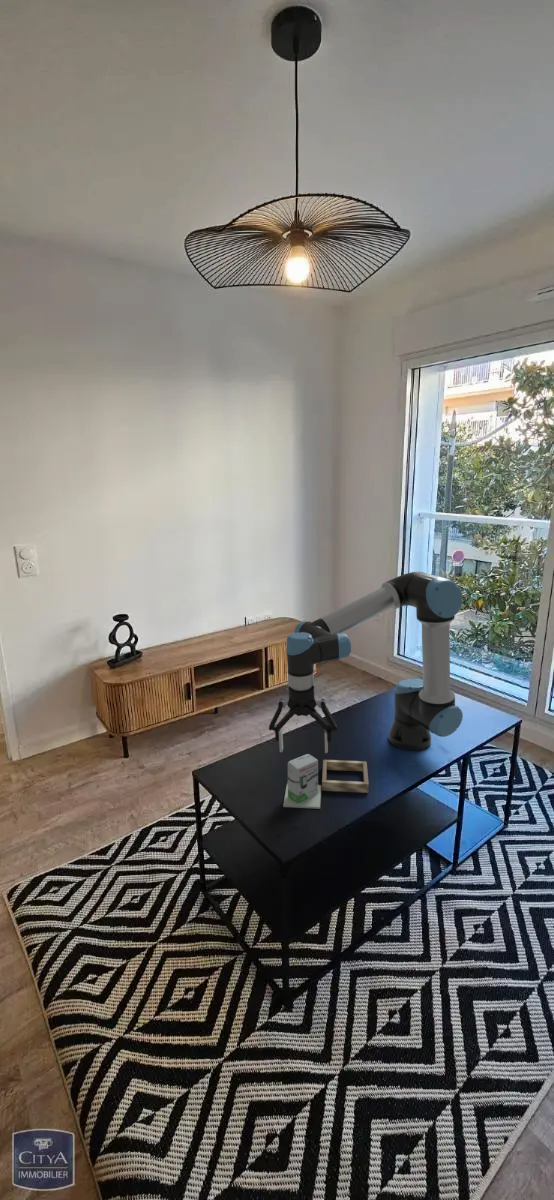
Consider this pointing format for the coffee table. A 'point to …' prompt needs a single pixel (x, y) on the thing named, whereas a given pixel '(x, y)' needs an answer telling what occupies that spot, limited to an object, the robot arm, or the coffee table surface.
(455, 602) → the robot arm
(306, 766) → the ink box
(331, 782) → the pocket
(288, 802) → the tile
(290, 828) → the coffee table surface
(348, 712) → the coffee table surface
